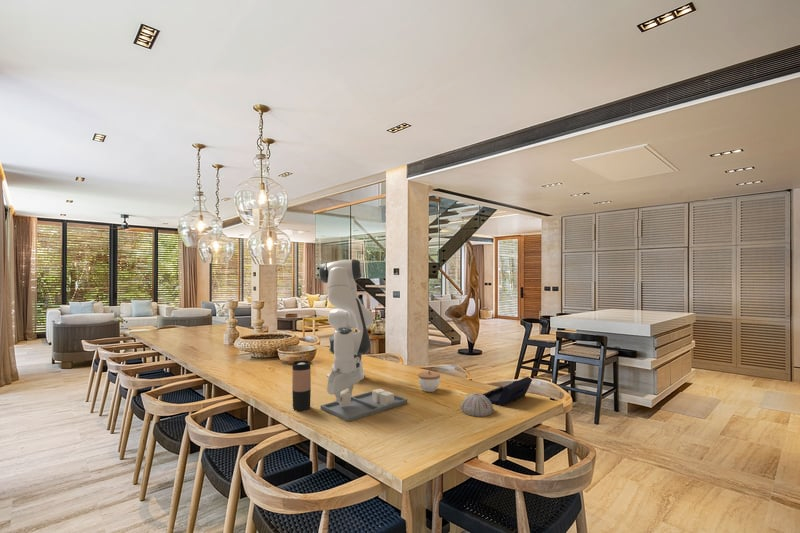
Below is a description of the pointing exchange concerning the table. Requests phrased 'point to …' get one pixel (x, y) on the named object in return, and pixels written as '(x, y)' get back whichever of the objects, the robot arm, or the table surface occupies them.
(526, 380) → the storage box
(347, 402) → the limestone block
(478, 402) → the sea urchin shell
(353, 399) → the divided tray
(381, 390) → the limestone block
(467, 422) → the table surface
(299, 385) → the travel mug
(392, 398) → the limestone block
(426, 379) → the lidded jar
